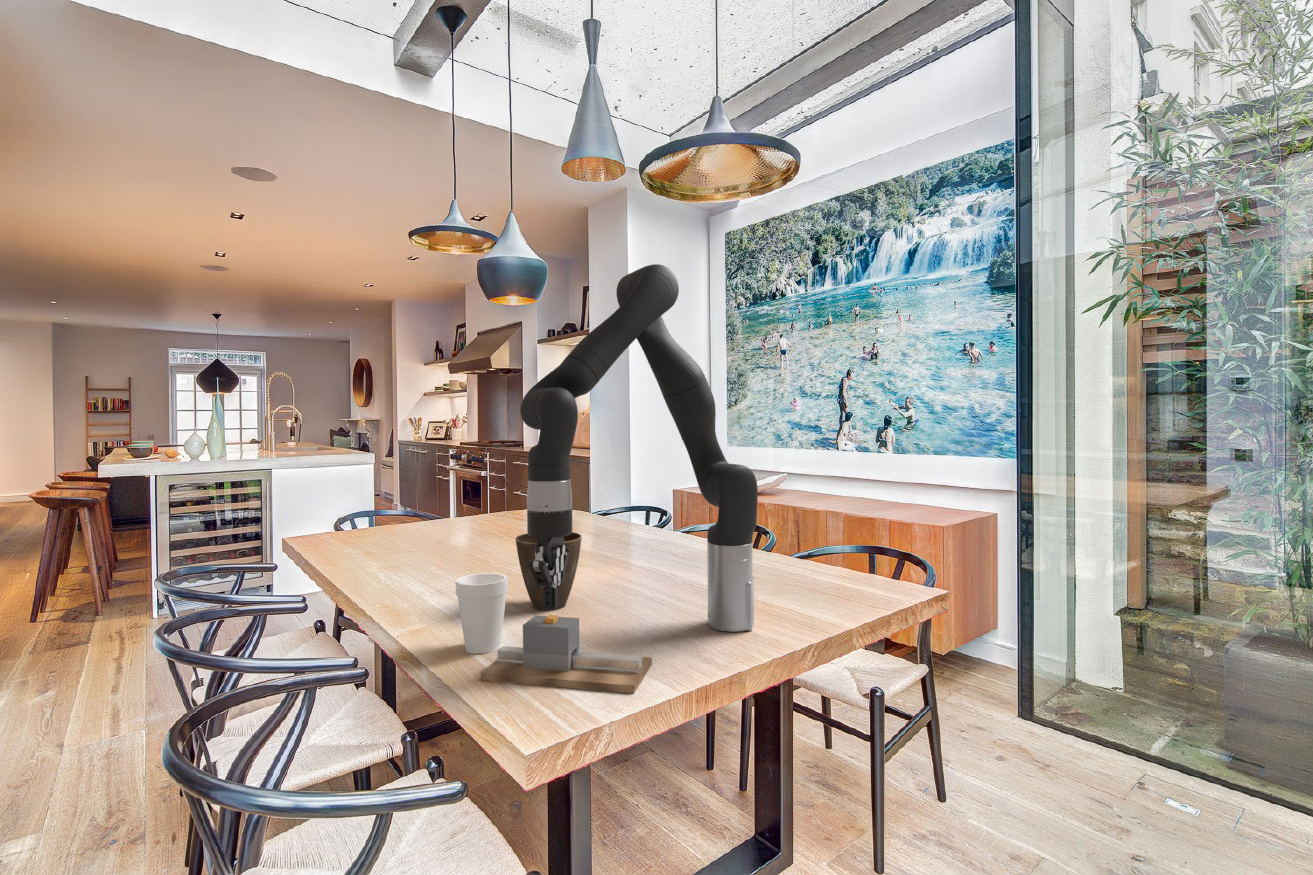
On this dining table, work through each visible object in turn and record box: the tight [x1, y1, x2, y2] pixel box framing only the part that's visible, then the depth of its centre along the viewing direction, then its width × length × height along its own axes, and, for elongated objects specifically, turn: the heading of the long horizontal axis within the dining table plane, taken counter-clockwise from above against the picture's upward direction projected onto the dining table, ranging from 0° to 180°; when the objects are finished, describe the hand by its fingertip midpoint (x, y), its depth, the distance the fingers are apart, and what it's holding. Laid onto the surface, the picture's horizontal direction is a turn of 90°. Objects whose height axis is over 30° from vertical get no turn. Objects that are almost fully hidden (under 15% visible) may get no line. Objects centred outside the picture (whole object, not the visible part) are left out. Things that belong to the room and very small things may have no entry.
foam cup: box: [455, 572, 509, 654], centre depth 121 cm, size 10×9×13 cm
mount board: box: [480, 656, 653, 694], centre depth 109 cm, size 26×12×1 cm, turn 77°
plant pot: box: [515, 531, 583, 611], centre depth 148 cm, size 15×15×16 cm
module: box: [522, 614, 581, 671], centre depth 110 cm, size 8×5×8 cm
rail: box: [496, 645, 643, 674], centre depth 109 cm, size 25×3×2 cm, turn 77°
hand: (550, 608), depth 109 cm, fingers closed
